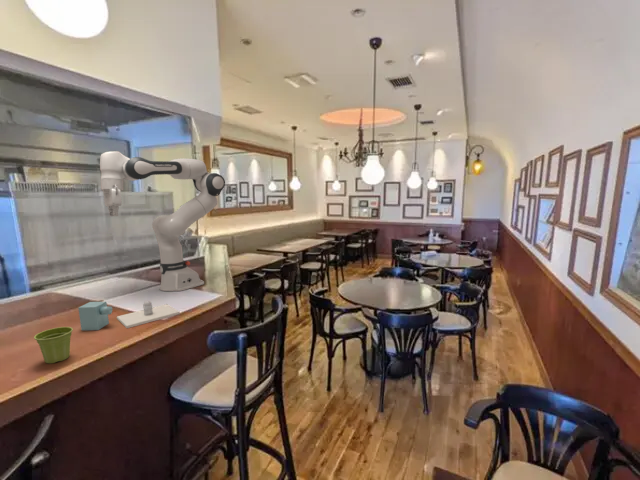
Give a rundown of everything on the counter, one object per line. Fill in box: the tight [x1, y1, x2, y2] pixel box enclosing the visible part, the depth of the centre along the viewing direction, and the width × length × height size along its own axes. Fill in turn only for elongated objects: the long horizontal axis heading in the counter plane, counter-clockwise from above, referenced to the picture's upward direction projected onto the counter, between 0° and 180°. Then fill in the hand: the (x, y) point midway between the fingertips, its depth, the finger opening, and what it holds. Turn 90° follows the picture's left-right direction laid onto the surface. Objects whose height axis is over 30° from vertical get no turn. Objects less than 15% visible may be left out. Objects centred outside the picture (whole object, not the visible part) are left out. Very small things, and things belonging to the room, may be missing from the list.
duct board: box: [116, 300, 181, 329], centre depth 138 cm, size 20×14×7 cm
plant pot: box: [33, 326, 74, 364], centre depth 103 cm, size 9×9×9 cm
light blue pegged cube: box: [78, 301, 113, 331], centre depth 128 cm, size 6×10×9 cm
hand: (113, 216), depth 155 cm, fingers open, 8 cm apart
